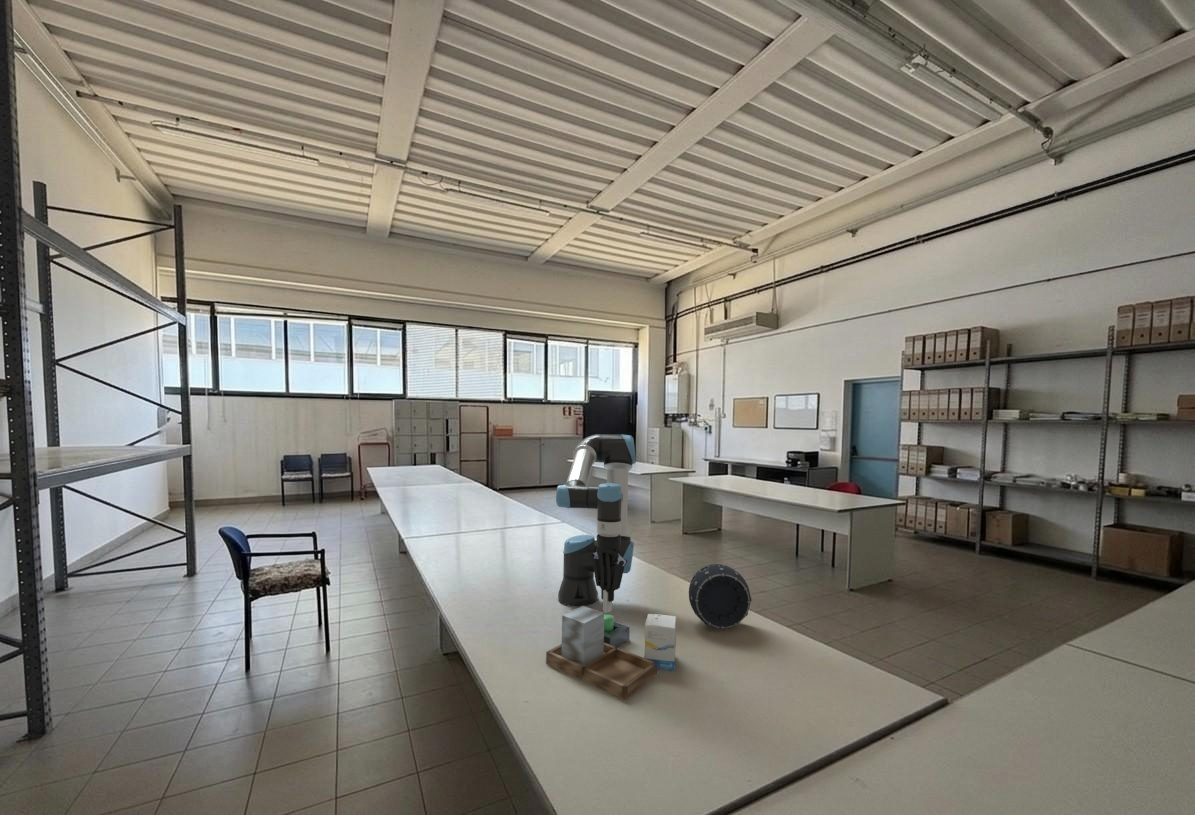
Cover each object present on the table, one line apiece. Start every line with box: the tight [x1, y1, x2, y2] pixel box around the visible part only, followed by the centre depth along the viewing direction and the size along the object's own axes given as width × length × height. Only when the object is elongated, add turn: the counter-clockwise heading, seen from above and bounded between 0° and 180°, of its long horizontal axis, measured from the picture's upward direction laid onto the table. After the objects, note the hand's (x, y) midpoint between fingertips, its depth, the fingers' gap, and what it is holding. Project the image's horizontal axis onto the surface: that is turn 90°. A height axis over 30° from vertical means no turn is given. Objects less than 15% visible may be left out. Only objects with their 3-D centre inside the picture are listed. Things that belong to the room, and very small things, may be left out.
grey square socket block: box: [604, 621, 631, 648], centre depth 145 cm, size 10×10×4 cm
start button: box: [604, 614, 615, 633], centre depth 145 cm, size 4×4×5 cm
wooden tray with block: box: [545, 606, 658, 701], centre depth 129 cm, size 27×15×13 cm, turn 52°
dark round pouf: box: [688, 563, 753, 630], centre depth 157 cm, size 11×20×20 cm, turn 89°
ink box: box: [643, 613, 677, 671], centre depth 133 cm, size 9×8×12 cm
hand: (607, 611), depth 145 cm, fingers closed
